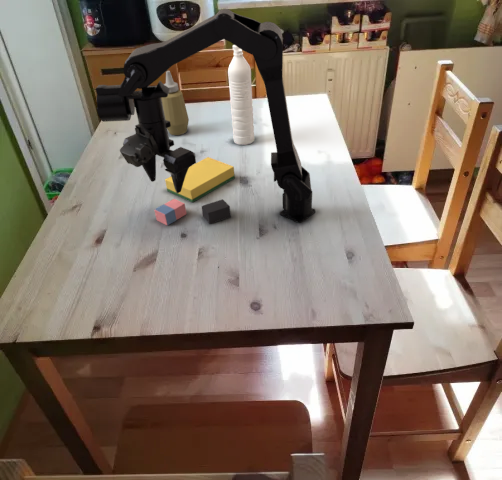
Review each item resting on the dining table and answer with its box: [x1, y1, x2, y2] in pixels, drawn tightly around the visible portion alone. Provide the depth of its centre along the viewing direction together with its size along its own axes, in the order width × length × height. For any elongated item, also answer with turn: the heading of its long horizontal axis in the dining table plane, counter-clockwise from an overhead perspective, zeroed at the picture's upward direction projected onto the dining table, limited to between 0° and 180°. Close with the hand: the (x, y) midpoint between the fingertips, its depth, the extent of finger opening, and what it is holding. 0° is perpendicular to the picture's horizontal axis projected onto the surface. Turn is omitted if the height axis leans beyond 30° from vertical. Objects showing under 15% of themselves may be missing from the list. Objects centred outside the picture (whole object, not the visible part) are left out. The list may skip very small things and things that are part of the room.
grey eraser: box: [201, 199, 232, 225], centre depth 113 cm, size 6×4×3 cm
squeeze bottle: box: [162, 70, 190, 136], centre depth 145 cm, size 8×8×18 cm
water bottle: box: [227, 44, 255, 146], centre depth 135 cm, size 9×6×25 cm
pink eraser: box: [154, 198, 187, 226], centre depth 114 cm, size 6×4×3 cm, turn 138°
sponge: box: [164, 156, 236, 203], centre depth 125 cm, size 16×10×3 cm, turn 138°
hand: (165, 186), depth 109 cm, fingers open, 9 cm apart
